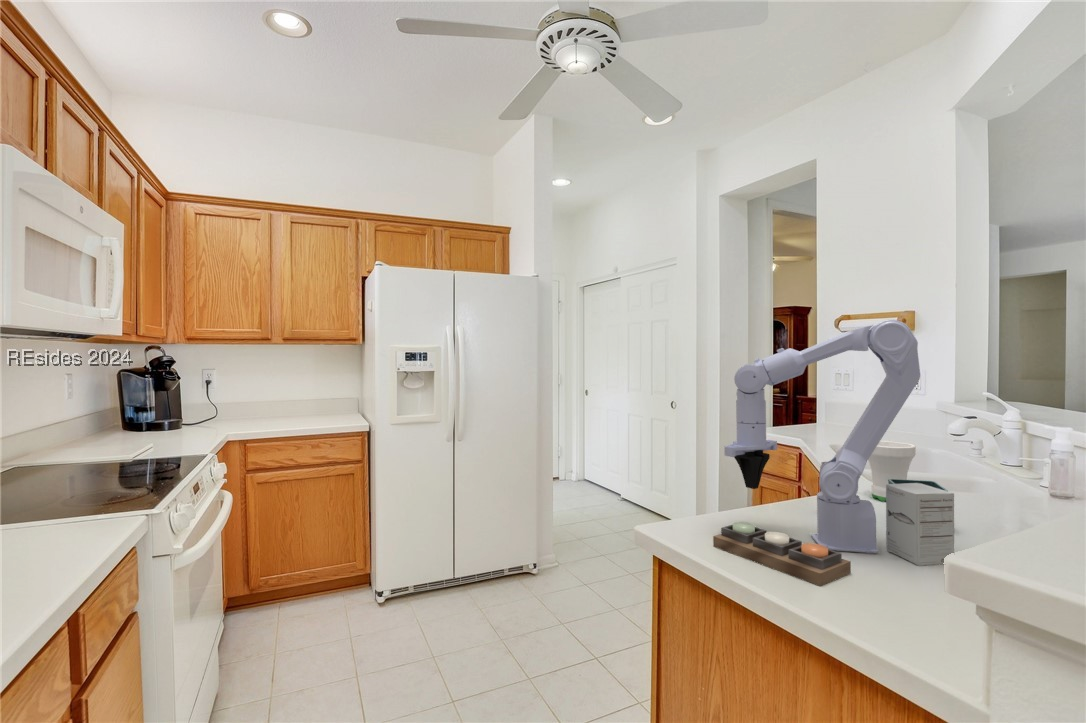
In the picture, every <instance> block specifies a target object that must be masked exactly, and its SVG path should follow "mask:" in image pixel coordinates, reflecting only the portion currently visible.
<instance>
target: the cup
mask: <svg viewBox="0 0 1086 723" xmlns="http://www.w3.org/2000/svg"><path fill="white" fill-rule="evenodd" d="M916 448H917V447H916V445H914V444H912V443H908V442H902V441H891V440H880V442H879V443H878V445H877V446H876V448H875V450H874V451H873V453H872V454H871V456H870V457H869V459H868V460H867V462H868V464H869V466H870V471H871V478H872V485H871V496H872V498H874V499H878V500H879V502H886V484H889V483H888V479H903V480H908V478H907V477H908V472H909V470H910V467H911V466H910V465H911V463H912V461H913V458H915V456H916V451H917V450H916Z"/></svg>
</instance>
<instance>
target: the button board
mask: <svg viewBox="0 0 1086 723" xmlns="http://www.w3.org/2000/svg"><path fill="white" fill-rule="evenodd" d="M720 529H721V531H720V533H719V534H716V535H713V536H712V538H713V540H712V544H713V547H714V548H716V549H719V550H721V551H725V552H728V553H729V554H733V555H736V556H738V557H740V558H744V559H746V560H749V561H751V560H752V561H751V562H754V561H755V562H754V563H757V562H758V563H757V564H759V563H760V564H759V565H762V564H763V566H765V565H766V566H765V567H767V566H768V568H770V567H771V569H773V568H774V569H773V570H776V571H778V572H780V573H781V572H782V573H784V574H786V575H789V576H792V577H794V576H795V578H797V579H800V580H802V579H803V581H805V580H806V582H808V581H809V583H810V582H812V583H811V584H813V583H814V584H813V585H816V584H817V585H816V586H818V585H819V587H821V585H822V586H824V585H826V583H827V584H828V583H831V582H833V580H834V581H835V579H836V580H839V579H841V578H843V577H845V575H846V576H848V575H851V574H852V572H851V571H852V569H851V567H852V565H851V560H848V559H844V558H843V554H842V553H841V552H840V551H837V550H829V549H828V556H826V557H824V558H821V559H820V558H817V557H814V556H811V555H807V554H804V553H802V552H801V545H802V544H803V543H802V540H800V539H796V538H793V537H790V536H789V543H788V544H785V545H782V546H780V545H777V544H774V543H771V542H768V541H765V533H767V532H768V530H767V529H763V528H761V527H757V526H755V532H754V533H750V534H747V535H746V534H743V533H740V532H737V531H734V530H733V524H730V525H727V526H722V527H721V528H720ZM840 577H841V578H840Z"/></svg>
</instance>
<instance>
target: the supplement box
mask: <svg viewBox="0 0 1086 723" xmlns="http://www.w3.org/2000/svg"><path fill="white" fill-rule="evenodd" d="M885 503H886V504H885V514H886V515H885V516H886V520H885V525H886V526H885V528H886V531H885V532H886V535H885V536H886V538H885V539H886V540H885V541H886V551H887V552H890V553H892V554H894V555H896V556H898V557H900V558H902V559H905V560H906V561H908V562H910V563H912V564H914V565H916V566H938V565H939V564H940V565H944V564H943V563H944V558H945V557H946V556H947V555H949V554H951V553H954V554H955V493H954V492H952V491H949V490H948V491H945V490H941V489H938V488H935V487H931V486H928V485H924V484H921V483H903V484H886V501H885Z"/></svg>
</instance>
